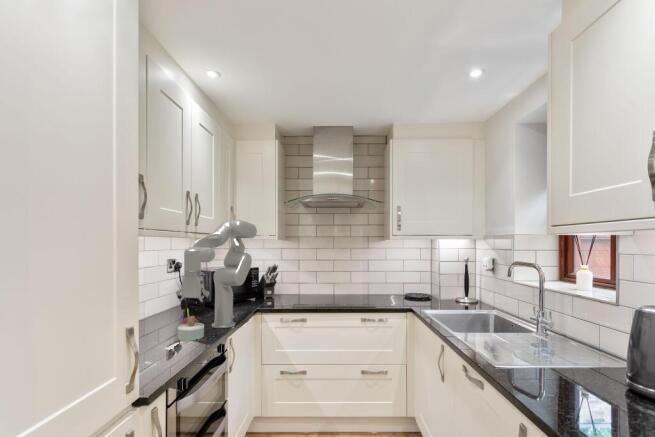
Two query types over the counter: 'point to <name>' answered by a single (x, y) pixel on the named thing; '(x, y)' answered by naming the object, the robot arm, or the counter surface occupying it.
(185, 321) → the cupcake
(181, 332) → the bowl
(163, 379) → the counter surface
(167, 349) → the mat
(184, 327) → the lid
